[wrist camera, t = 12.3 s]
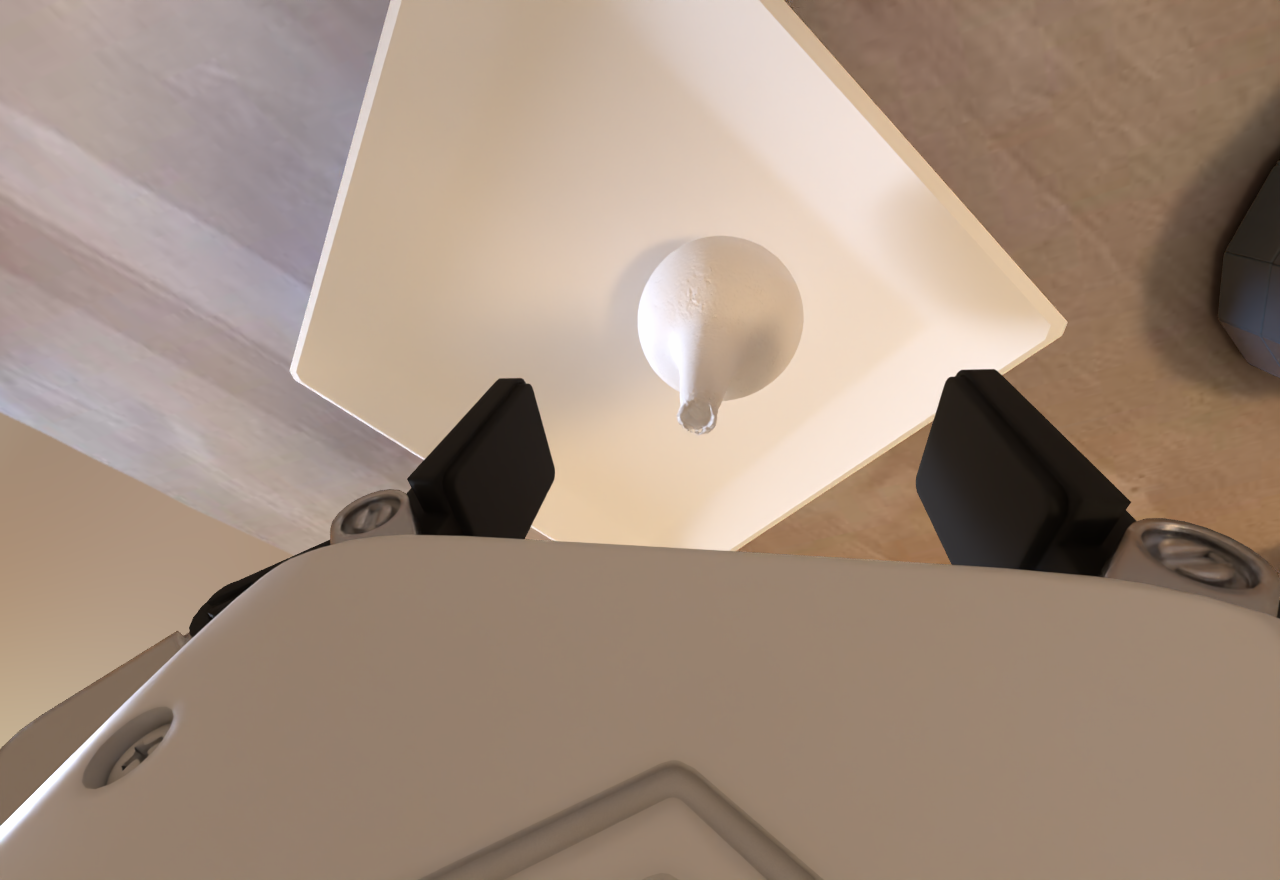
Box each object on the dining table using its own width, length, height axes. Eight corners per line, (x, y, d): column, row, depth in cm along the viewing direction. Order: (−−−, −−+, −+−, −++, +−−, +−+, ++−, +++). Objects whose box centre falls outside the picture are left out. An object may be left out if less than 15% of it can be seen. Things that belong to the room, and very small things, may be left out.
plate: (312, 361, 26) (284, 377, 25) (512, -286, 13) (478, -350, 11) (658, 582, 33) (654, 607, 31) (1046, 312, 19) (1077, 330, 17)
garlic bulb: (831, 282, 18) (891, 373, 11) (738, 401, 21) (742, 522, 15) (692, 195, 17) (669, 238, 10) (619, 334, 20) (567, 433, 14)
